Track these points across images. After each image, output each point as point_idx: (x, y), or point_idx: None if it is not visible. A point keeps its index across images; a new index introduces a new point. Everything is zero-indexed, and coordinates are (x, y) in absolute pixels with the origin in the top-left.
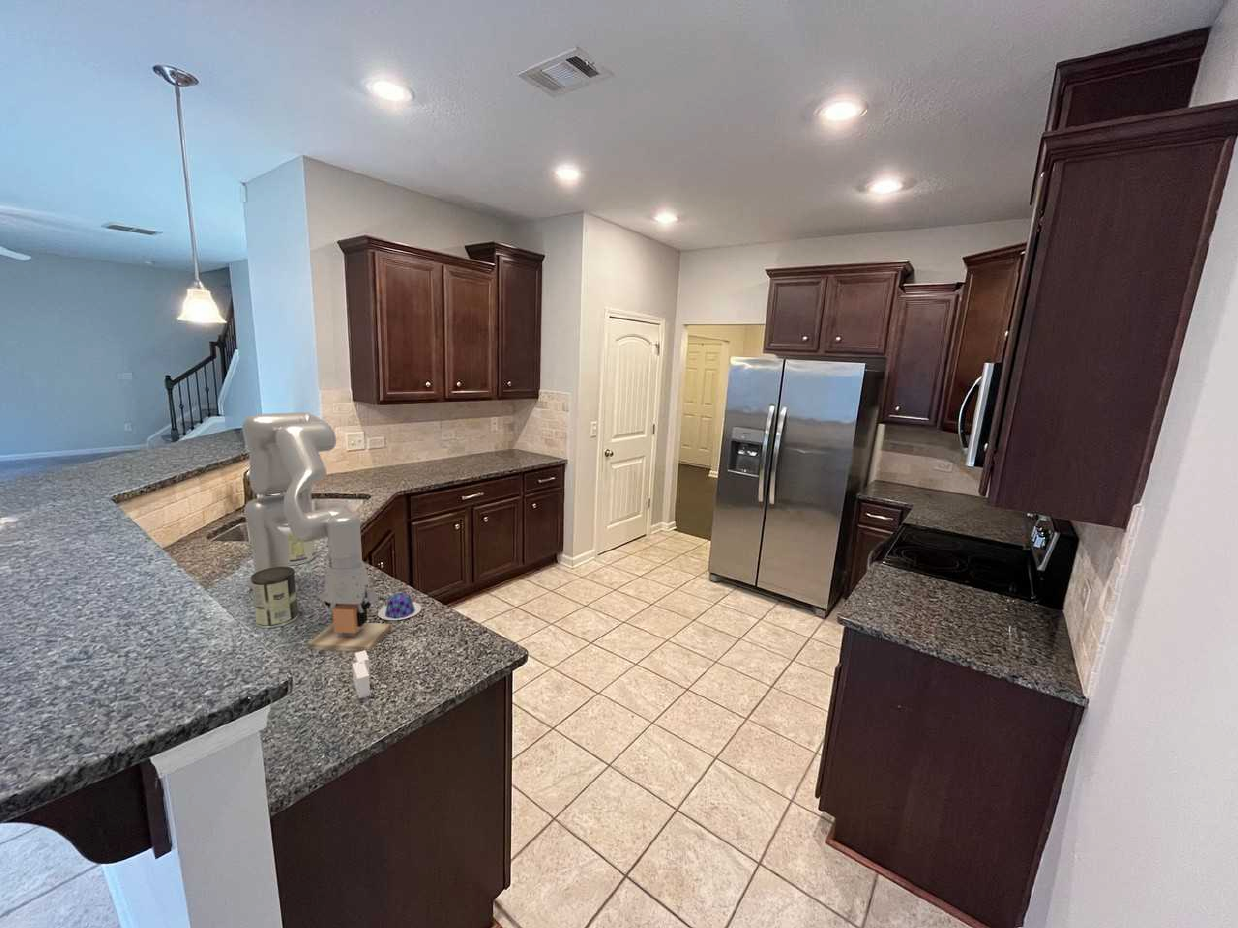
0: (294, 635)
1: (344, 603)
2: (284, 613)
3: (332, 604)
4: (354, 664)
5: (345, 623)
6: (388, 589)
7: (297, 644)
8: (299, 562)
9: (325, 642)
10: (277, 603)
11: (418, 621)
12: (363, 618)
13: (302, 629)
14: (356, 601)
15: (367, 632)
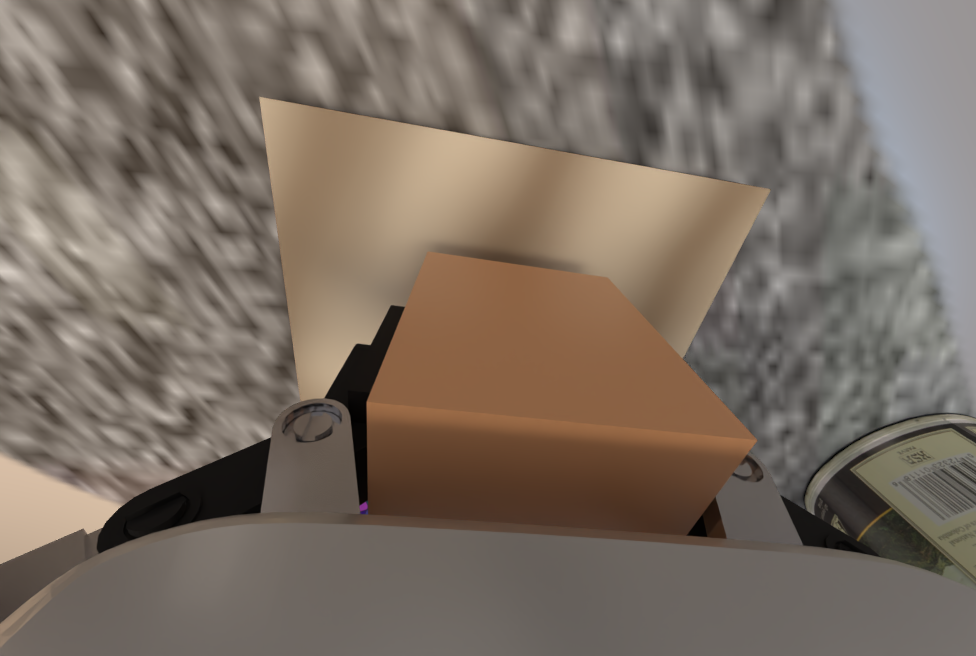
0: (823, 347)
1: (560, 547)
2: (931, 492)
3: (773, 534)
4: None
5: (514, 299)
6: None
7: (807, 250)
8: None
9: (642, 201)
10: None
11: (211, 448)
12: (347, 364)
13: (782, 399)
14: (132, 628)
15: None
